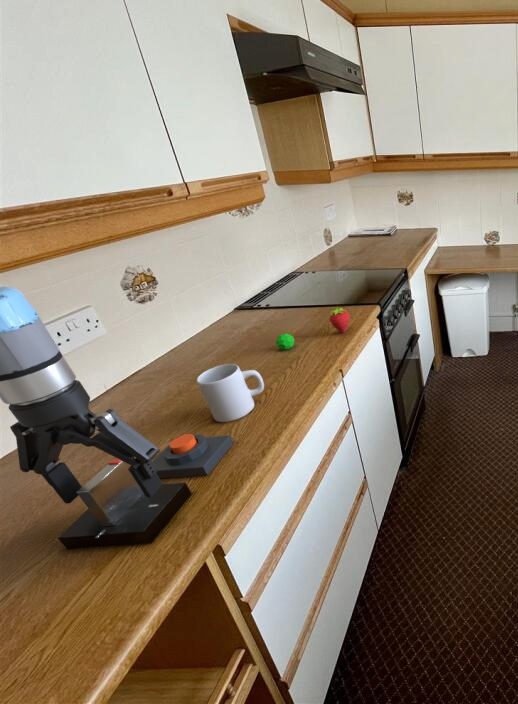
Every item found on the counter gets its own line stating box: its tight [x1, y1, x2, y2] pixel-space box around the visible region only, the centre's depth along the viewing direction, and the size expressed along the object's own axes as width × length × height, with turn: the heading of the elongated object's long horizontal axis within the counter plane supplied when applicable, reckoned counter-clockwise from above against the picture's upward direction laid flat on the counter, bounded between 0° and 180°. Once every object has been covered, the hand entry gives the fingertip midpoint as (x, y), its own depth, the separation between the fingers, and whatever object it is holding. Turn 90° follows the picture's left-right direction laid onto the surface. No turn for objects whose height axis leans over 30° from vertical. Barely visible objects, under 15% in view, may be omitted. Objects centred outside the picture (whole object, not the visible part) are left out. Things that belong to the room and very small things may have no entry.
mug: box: [196, 363, 265, 423], centre depth 97 cm, size 12×8×11 cm
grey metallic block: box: [76, 458, 144, 526], centre depth 69 cm, size 7×2×8 cm, turn 2°
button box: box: [151, 433, 234, 480], centre depth 83 cm, size 12×9×4 cm
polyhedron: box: [275, 333, 295, 351], centre depth 126 cm, size 5×5×5 cm
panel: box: [57, 482, 193, 551], centre depth 71 cm, size 14×11×3 cm
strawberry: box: [329, 307, 350, 334], centre depth 132 cm, size 6×8×10 cm
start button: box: [169, 433, 197, 454], centre depth 82 cm, size 4×4×2 cm
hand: (115, 494), depth 69 cm, fingers open, 13 cm apart
